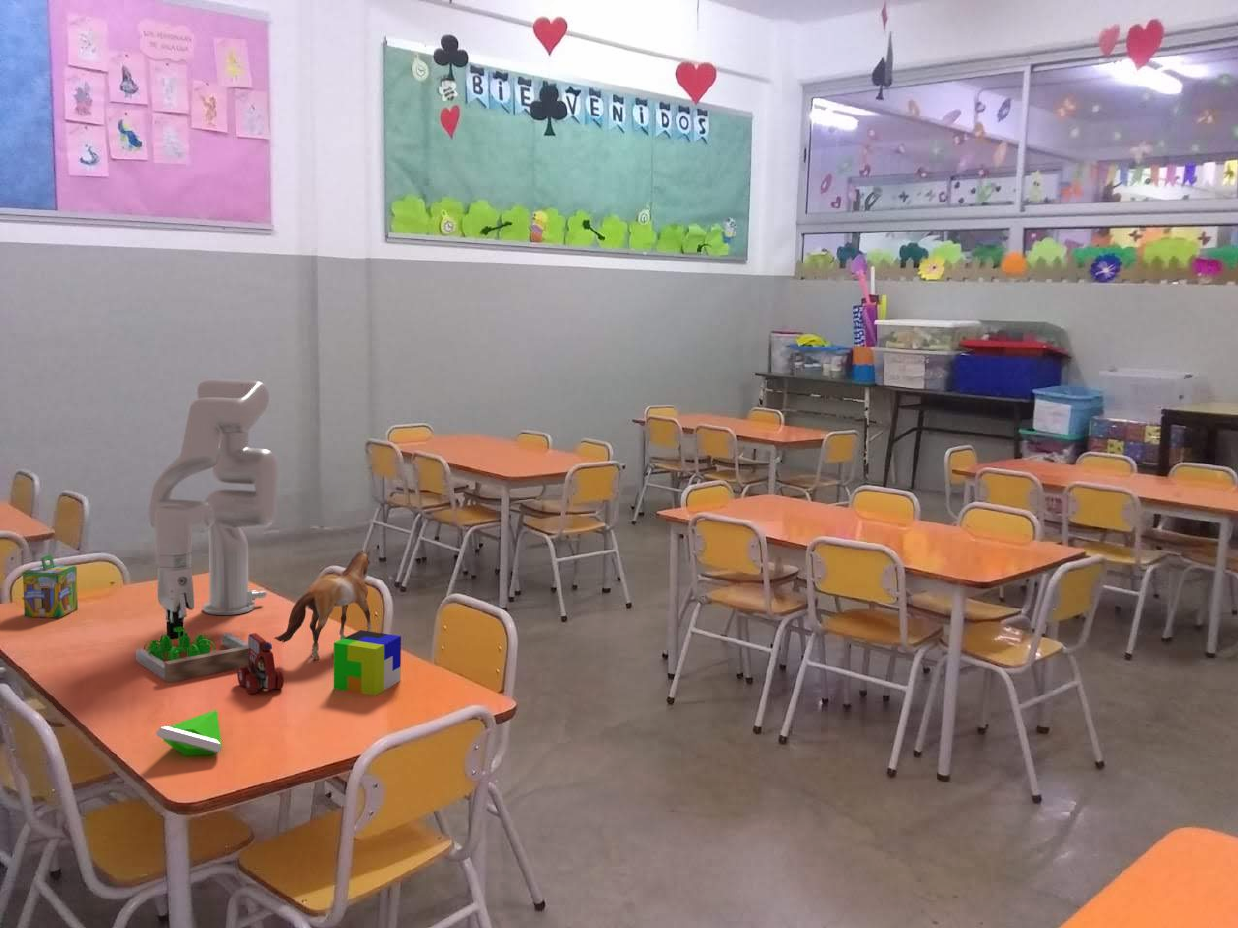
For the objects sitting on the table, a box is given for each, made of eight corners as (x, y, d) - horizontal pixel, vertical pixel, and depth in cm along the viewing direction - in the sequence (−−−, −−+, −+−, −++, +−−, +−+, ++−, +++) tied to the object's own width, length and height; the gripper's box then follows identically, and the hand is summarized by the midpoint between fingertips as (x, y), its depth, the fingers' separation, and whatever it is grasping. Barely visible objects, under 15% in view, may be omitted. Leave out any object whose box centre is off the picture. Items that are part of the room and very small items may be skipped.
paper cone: (181, 719, 205) (148, 751, 180) (191, 693, 205) (159, 721, 181) (238, 735, 207) (214, 769, 182) (248, 709, 207) (224, 739, 183)
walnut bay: (228, 643, 246) (228, 626, 246) (263, 662, 234) (263, 645, 233) (135, 660, 232) (135, 643, 231) (168, 682, 219) (168, 664, 218)
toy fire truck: (253, 699, 212) (253, 649, 210) (234, 681, 221) (234, 634, 220) (287, 693, 216) (287, 644, 215) (267, 676, 226) (267, 629, 224)
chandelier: (190, 643, 246) (189, 615, 245) (229, 657, 238) (228, 627, 237) (129, 658, 234) (128, 628, 233) (168, 673, 225) (167, 642, 224)
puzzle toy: (400, 681, 226) (401, 636, 225) (375, 696, 217) (375, 649, 215) (360, 674, 229) (360, 630, 228) (333, 688, 220) (333, 642, 218)
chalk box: (59, 619, 260) (57, 560, 258) (23, 617, 260) (20, 559, 258) (79, 609, 269) (77, 552, 267) (44, 607, 269) (42, 550, 267)
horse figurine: (362, 628, 262) (363, 548, 259) (388, 633, 259) (389, 552, 256) (273, 662, 234) (273, 572, 231) (300, 668, 231) (300, 577, 228)
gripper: (203, 564, 237) (204, 642, 239) (177, 552, 247) (178, 627, 250) (170, 568, 232) (171, 649, 234) (144, 556, 242) (146, 632, 245)
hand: (175, 637), depth 242 cm, fingers closed
